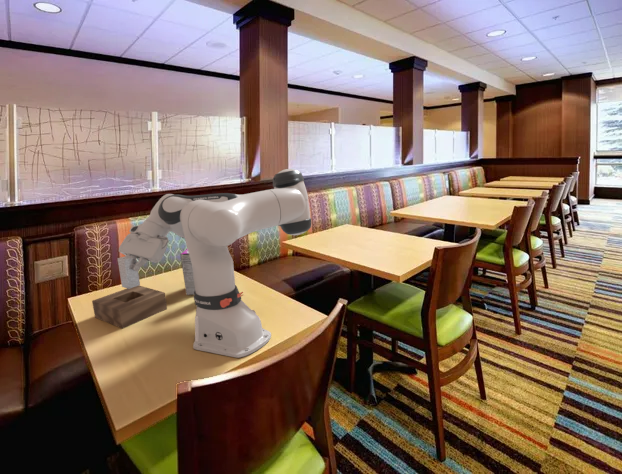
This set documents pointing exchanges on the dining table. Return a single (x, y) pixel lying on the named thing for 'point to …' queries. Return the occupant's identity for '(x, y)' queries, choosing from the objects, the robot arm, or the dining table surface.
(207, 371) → the dining table surface
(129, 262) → the peg
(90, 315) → the dining table surface
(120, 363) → the dining table surface
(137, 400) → the dining table surface
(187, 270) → the candy bar box
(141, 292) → the post socket
